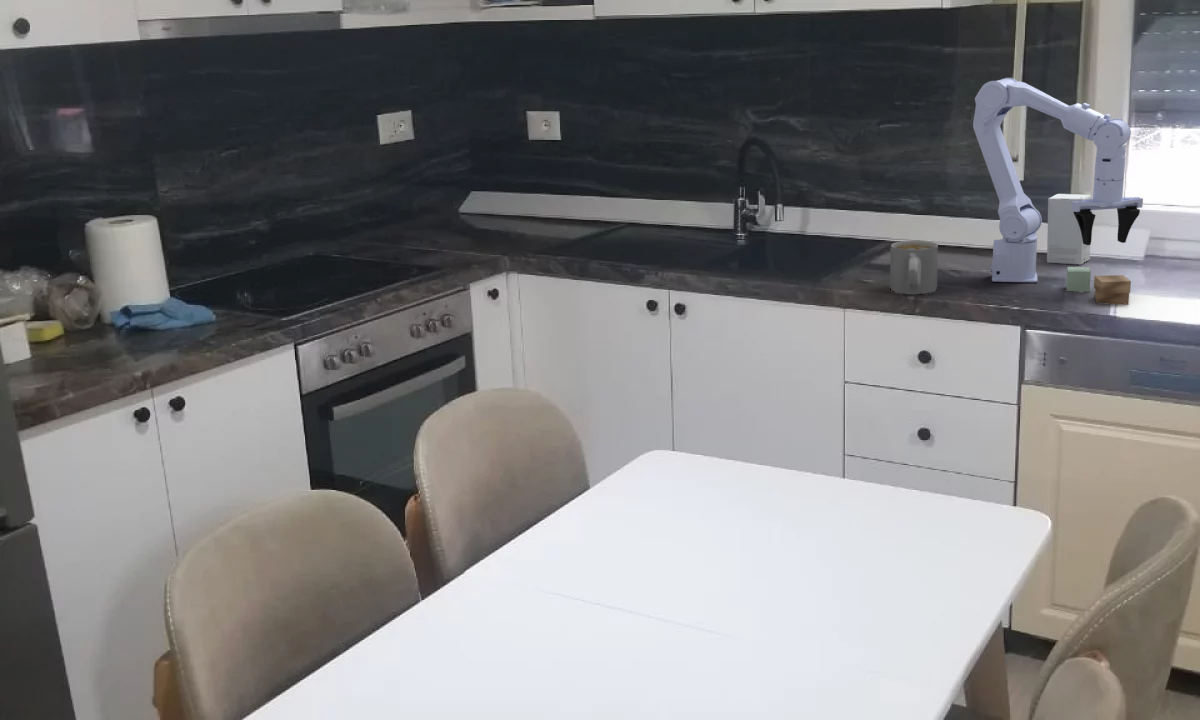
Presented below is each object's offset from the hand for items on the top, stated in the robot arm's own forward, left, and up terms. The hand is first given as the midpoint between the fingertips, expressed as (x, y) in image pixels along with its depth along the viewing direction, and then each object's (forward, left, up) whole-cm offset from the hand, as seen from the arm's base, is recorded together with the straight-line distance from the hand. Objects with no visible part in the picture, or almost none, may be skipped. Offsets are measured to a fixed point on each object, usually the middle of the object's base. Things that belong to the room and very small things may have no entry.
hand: (1104, 243), depth 249 cm
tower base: (+1, -12, -10) cm, 15 cm away
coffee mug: (-39, -8, -10) cm, 41 cm away
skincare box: (-6, +25, -10) cm, 28 cm away
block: (-5, -3, -10) cm, 11 cm away
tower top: (+1, -12, -7) cm, 14 cm away
